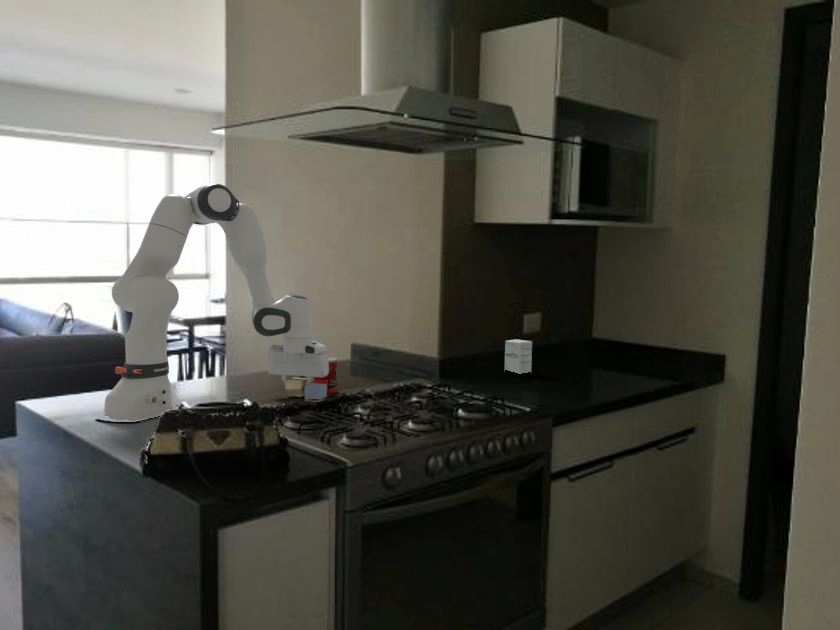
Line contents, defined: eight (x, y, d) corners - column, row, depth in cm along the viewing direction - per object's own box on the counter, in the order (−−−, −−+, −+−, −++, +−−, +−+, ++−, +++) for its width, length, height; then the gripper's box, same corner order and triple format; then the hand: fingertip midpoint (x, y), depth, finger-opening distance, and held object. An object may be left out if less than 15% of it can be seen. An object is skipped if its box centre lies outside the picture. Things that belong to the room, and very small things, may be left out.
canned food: (333, 395, 240) (332, 361, 239) (309, 394, 242) (309, 360, 241) (340, 390, 247) (340, 357, 246) (317, 389, 249) (317, 356, 248)
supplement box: (503, 374, 280) (504, 340, 279) (516, 371, 285) (517, 338, 284) (519, 376, 275) (519, 342, 274) (532, 374, 280) (532, 340, 279)
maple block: (301, 396, 234) (301, 381, 234) (286, 395, 236) (286, 379, 235) (308, 394, 239) (308, 378, 238) (294, 392, 240) (294, 377, 240)
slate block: (319, 403, 228) (319, 386, 228) (304, 402, 230) (304, 385, 229) (326, 399, 233) (326, 384, 232) (312, 398, 234) (311, 383, 234)
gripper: (263, 345, 236) (263, 389, 237) (322, 349, 230) (322, 393, 231) (273, 343, 242) (273, 385, 243) (331, 346, 236) (331, 390, 237)
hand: (297, 389), depth 237 cm, fingers closed on maple block, 5 cm apart
